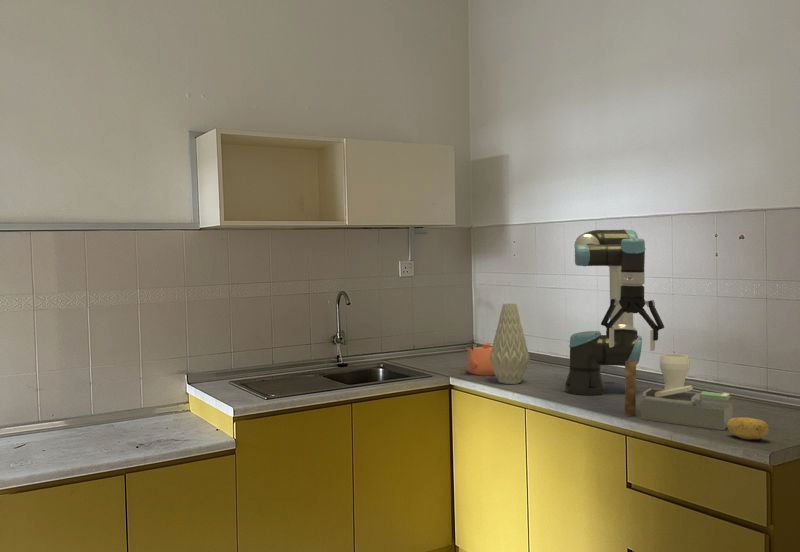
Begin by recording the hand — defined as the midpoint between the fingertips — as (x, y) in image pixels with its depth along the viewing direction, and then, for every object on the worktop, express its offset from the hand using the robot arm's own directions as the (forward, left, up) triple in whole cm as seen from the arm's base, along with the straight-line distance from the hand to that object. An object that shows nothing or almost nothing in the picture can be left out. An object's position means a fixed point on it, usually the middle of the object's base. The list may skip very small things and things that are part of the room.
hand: (631, 348), depth 236 cm
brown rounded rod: (0, -1, -22) cm, 22 cm away
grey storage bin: (+17, +2, -22) cm, 28 cm away
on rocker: (+26, +2, -13) cm, 29 cm away
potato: (+37, -11, -22) cm, 45 cm away
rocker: (+13, +2, -13) cm, 19 cm away
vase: (-60, +30, -22) cm, 71 cm away
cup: (+3, +43, -22) cm, 48 cm away
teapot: (-79, +44, -22) cm, 93 cm away
